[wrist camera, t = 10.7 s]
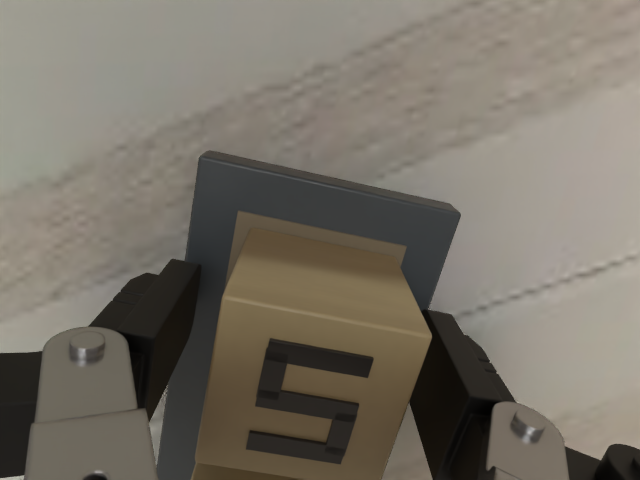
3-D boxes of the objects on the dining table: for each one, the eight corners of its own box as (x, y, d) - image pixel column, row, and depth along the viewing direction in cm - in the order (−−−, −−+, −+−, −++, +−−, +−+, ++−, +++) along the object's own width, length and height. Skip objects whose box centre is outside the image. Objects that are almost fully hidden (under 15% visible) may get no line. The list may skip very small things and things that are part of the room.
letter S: (250, 225, 12) (220, 297, 8) (396, 256, 12) (435, 338, 8) (227, 352, 13) (191, 467, 9) (359, 376, 13) (378, 496, 10)
